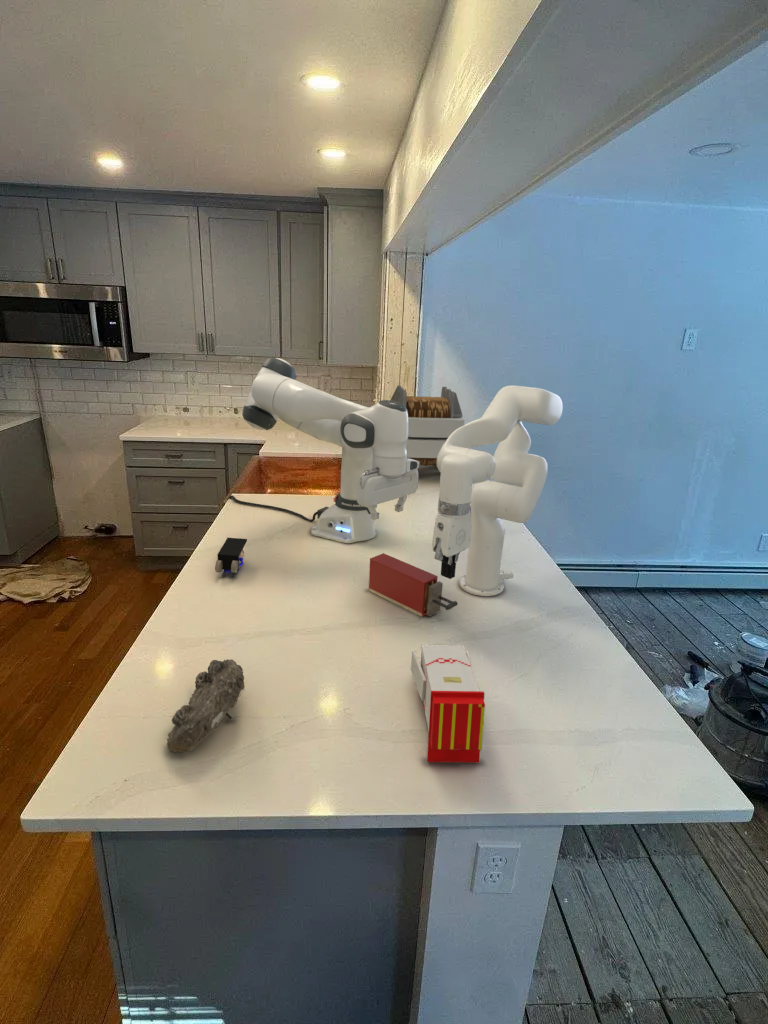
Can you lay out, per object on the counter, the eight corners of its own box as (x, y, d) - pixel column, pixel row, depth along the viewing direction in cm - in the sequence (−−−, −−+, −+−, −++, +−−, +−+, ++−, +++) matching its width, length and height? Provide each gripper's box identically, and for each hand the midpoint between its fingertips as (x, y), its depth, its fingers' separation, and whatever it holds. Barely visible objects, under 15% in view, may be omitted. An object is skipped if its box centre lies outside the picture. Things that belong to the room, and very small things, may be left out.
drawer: (456, 618, 145) (459, 589, 142) (446, 624, 142) (449, 595, 139) (388, 586, 160) (390, 560, 157) (378, 591, 157) (379, 564, 154)
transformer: (382, 463, 289) (386, 382, 275) (445, 464, 293) (451, 384, 279) (390, 482, 257) (394, 392, 243) (460, 483, 261) (468, 394, 247)
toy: (464, 627, 124) (494, 699, 95) (461, 683, 127) (489, 770, 98) (409, 626, 124) (422, 698, 94) (407, 682, 127) (419, 769, 97)
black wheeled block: (238, 584, 162) (249, 557, 175) (236, 562, 158) (247, 536, 172) (215, 584, 161) (227, 556, 175) (212, 561, 158) (225, 535, 171)
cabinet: (435, 609, 150) (437, 576, 147) (421, 616, 147) (424, 582, 143) (382, 584, 163) (383, 553, 159) (368, 590, 159) (369, 558, 156)
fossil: (192, 660, 117) (244, 628, 112) (224, 691, 120) (276, 661, 115) (142, 746, 98) (202, 712, 93) (182, 779, 101) (242, 748, 96)
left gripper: (369, 474, 137) (367, 527, 142) (423, 461, 151) (420, 510, 156) (351, 469, 141) (350, 520, 146) (405, 456, 155) (403, 504, 160)
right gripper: (447, 518, 127) (441, 591, 133) (484, 504, 138) (477, 572, 144) (421, 509, 132) (416, 580, 138) (459, 496, 142) (453, 563, 149)
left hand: (387, 515), depth 151 cm, fingers open, 8 cm apart
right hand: (447, 576), depth 141 cm, fingers closed
